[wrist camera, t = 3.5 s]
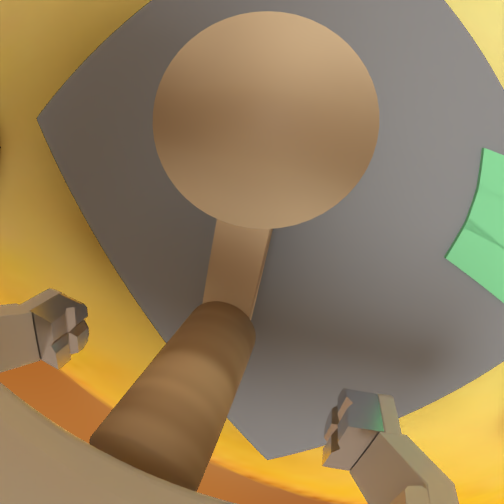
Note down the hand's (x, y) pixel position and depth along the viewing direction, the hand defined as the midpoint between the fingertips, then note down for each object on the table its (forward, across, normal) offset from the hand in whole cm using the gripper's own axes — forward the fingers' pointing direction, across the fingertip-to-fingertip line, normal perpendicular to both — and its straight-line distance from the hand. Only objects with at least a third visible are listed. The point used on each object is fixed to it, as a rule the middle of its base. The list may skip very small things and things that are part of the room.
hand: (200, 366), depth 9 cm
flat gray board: (+6, -2, -5) cm, 8 cm away
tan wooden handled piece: (+4, 0, -3) cm, 5 cm away
